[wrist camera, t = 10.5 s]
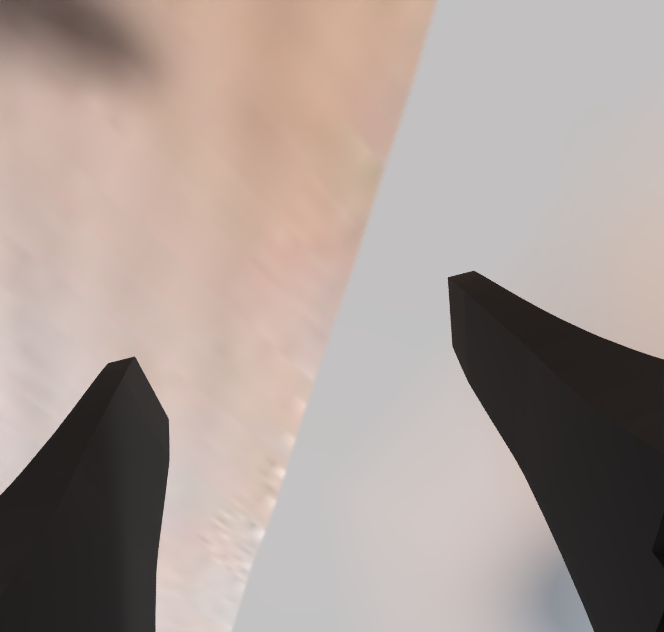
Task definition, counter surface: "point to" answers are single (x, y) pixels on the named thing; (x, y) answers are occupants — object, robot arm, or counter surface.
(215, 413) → the counter surface
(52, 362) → the counter surface
